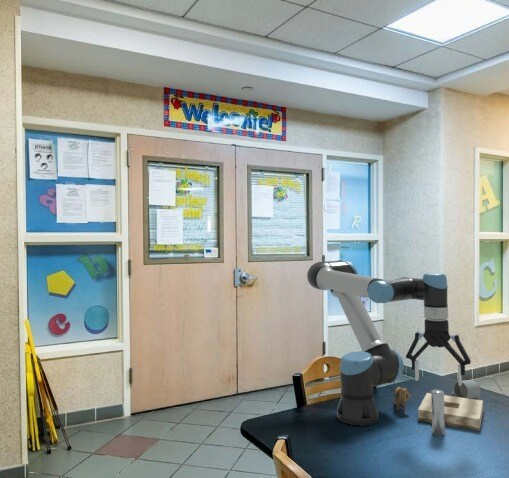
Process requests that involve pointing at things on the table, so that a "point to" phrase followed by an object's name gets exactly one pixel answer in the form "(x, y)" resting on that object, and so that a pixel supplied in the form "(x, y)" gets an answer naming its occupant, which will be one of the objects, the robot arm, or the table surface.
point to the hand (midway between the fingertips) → (438, 382)
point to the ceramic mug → (467, 389)
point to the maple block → (455, 411)
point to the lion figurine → (401, 397)
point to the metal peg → (438, 412)
